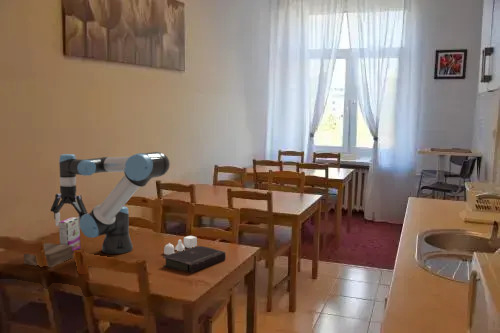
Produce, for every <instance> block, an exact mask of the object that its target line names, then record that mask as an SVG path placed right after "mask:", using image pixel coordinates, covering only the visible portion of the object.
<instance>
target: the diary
mask: <svg viewBox="0 0 500 333" xmlns="http://www.w3.org/2000/svg"><path fill="white" fill-rule="evenodd" d="M162 259H165V264H164V265H163V266H162V267H164V268H168V269H172V270H175V271H183V272H187V273H190V275H191V274H194V273H196V272H199V271H201V270H203V269H206V268H208V267H211V266H213V265H215V264H218V263H220V261H221V262H223V261H225V260H226V252H225V251H223V250H219V249H216V248H212V247H207V246H202V245H197V246H196V247H193V248H187V249H185V250H184V251H176V252H174V253H173V254H170V255H164V256H162Z"/></svg>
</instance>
